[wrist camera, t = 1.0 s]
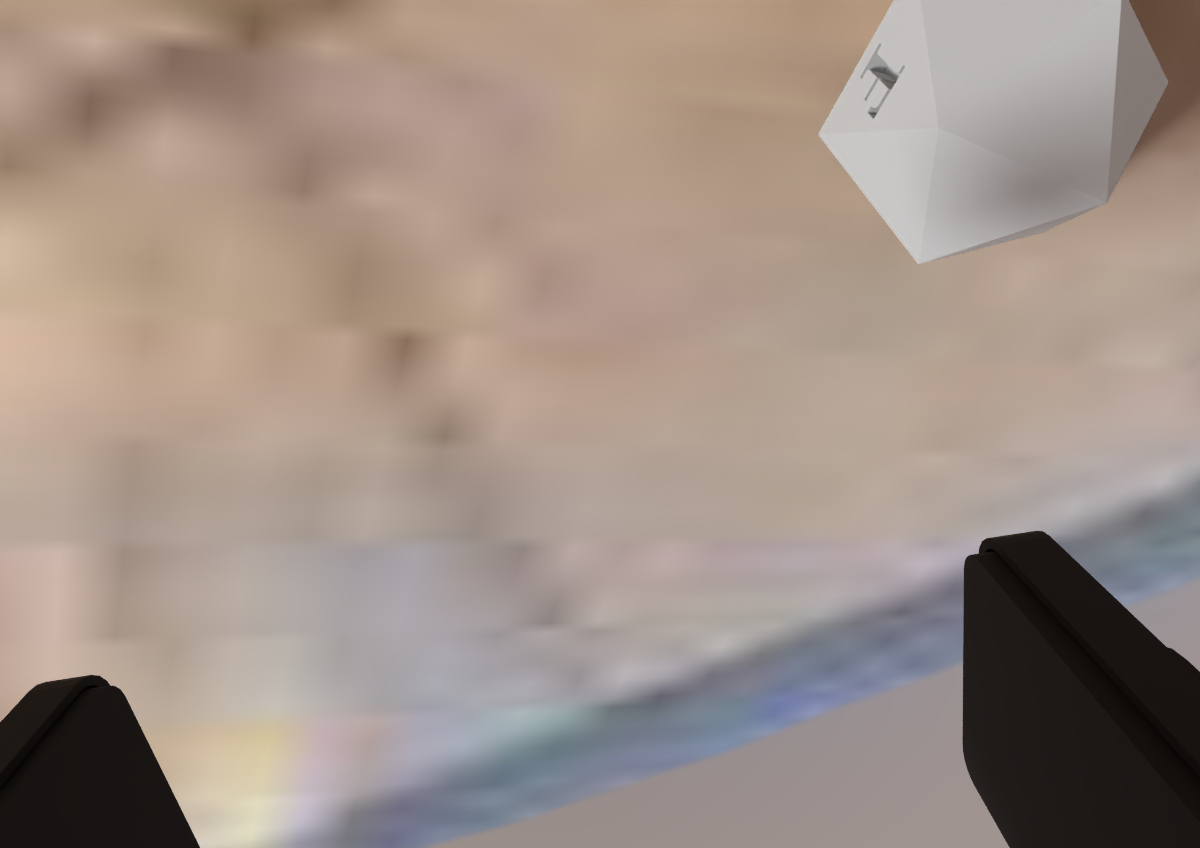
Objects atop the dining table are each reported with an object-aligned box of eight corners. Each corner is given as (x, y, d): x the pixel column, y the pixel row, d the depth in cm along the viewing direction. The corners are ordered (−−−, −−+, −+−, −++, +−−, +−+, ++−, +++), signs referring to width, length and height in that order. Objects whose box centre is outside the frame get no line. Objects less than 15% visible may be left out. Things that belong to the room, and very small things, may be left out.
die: (990, -95, 27) (890, -129, 20) (1245, 38, 25) (1236, 54, 17) (851, 139, 32) (733, 178, 25) (1048, 266, 30) (980, 349, 23)
